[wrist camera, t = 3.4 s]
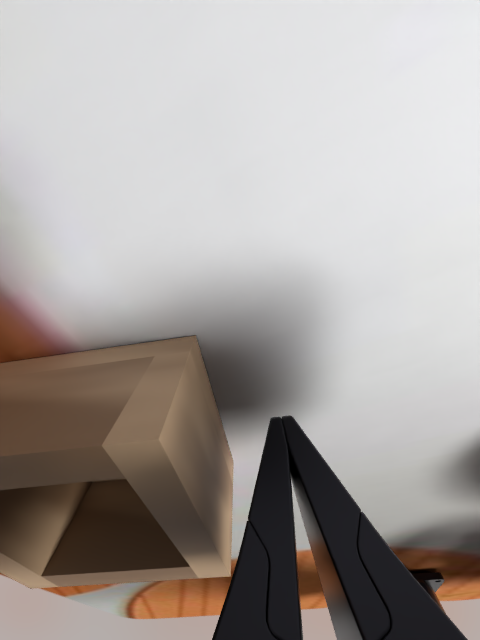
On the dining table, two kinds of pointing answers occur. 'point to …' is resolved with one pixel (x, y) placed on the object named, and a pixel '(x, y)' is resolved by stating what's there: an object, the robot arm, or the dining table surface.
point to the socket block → (113, 468)
